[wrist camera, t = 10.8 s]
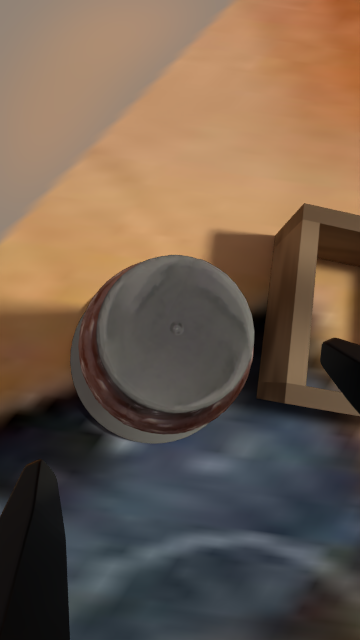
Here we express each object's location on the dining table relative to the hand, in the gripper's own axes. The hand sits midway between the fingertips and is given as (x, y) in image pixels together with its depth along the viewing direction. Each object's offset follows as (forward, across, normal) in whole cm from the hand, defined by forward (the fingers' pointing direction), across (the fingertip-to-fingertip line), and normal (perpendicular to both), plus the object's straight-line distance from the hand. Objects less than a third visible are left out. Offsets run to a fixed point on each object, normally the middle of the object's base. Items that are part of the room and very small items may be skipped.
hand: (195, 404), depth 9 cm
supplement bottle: (+8, 0, +5) cm, 10 cm away
